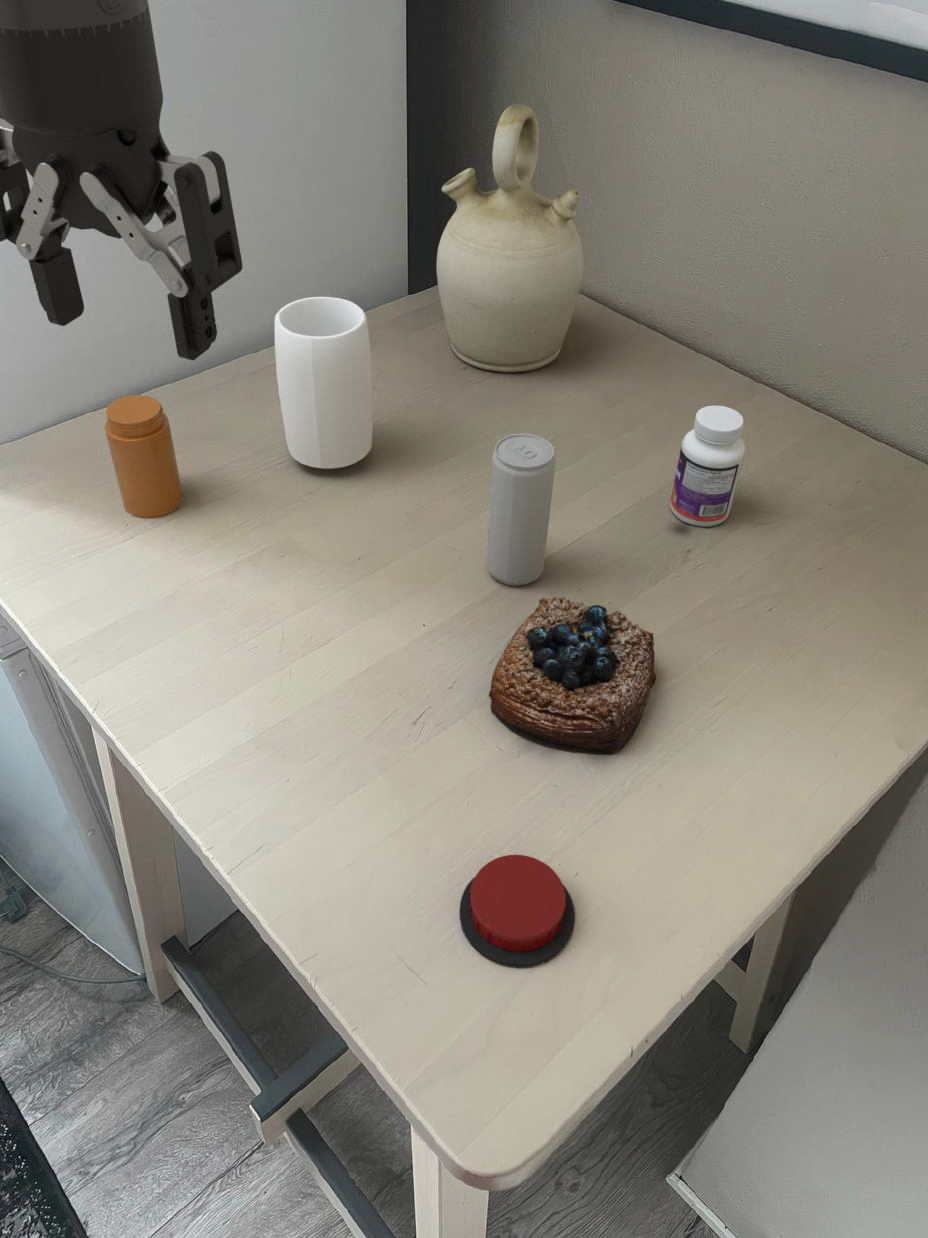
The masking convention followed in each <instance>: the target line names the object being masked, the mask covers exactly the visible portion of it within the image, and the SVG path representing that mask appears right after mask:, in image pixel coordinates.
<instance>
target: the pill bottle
mask: <svg viewBox="0 0 928 1238" xmlns="http://www.w3.org/2000/svg"><path fill="white" fill-rule="evenodd" d="M744 421H745V420H744V417H743V415H742V414H741V413H740V412H738V411H737V410H736V409H733V408H731V407H728V406H724V405H707V406H703V407H702V408H700V409H699V410H697V412H696V414H695V418H694V423H693V429H691V430H689V431H688V432H687V433H686V434H685V435H684V437H683V439H682V442H681V446H680V450H679V456H678V461H677V465H676V471H675V476H674V480H673V486H672V490H671V496H670V503H669V504H670V509H671V512H672V513H673V514H674V516H675V517H676V518H677V519H679V520H680V521H682V522H684V523H686V524H689V525H691V526H696V527H702V528H703V527H705V528H707V527H715V526H717V525H720V524H722V523H724V522H725V521H726V520H727V519H728V517H729V515H730V512H731V509H732V506H733V501H734V498H735V493H736V489H737V486H738V482H739V477H740V474H741V470H742V467H743V462H744V459H745V458H744V457H745V453H746V447H745V443H744V441H743V439H742V438H741V436H742V433H743V428H744Z"/></svg>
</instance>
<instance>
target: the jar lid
mask: <svg viewBox="0 0 928 1238" xmlns="http://www.w3.org/2000/svg"><path fill="white" fill-rule="evenodd" d="M474 877H475V878H474ZM474 877H473V878H474V880H473V883H472V887H471V891H470V893H469V902H470V914H469V916H470V917H471V918H472V921H473V924H474V926H475V930H476V931H478V932H479V933H480V935H481V936H482V937H483V938H484V939H486V940H487V942H489V943H491V944H493V945H494V946H496V947H499V948H501V949H502V950H508V951H517V952H519V953H520V952H522V951H529V950H533V949H535V950H537V948H539V947H541V946H543V945H544V944H546V943H547V942H551V939H552V938H553V937H554V936H555V935H556V933H557V932H558V930H560V929H561V923H562V919H563V916H564V915H565V910H566V905H565V901H566V900H565V890H564V887H563V885H564V884H563V882H562V880H561V879H560V877H559V875H558V874H557V873H556V871H555V870H554V869H553V868H552V867H550V866H549V865H547V863H545V862H543V861H542V860H540V859H538V858H535V857H533V856H529V855H525V854H524V855H523V854H508V855H502V856H499V857H496V858H494V859H492V860H490V861H489V862H487V863H486V864H484V865H483V866H482V867H481V868H480V869H479V871H478V872H477V873H476V874H475V876H474Z"/></svg>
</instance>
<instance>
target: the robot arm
mask: <svg viewBox="0 0 928 1238" xmlns="http://www.w3.org/2000/svg"><path fill="white" fill-rule="evenodd" d="M161 81H162V80H161V75H160V69H159V62H158V55H157V48H156V43H155V36H154V31H153V25H152V18H151V12H150V5H149V0H0V242H4V241H6V240H7V241H8V242H10V243H12V244H13V245H15V246H16V250H17V251H18V253H19V254H20V255H21V256H22V257H23V258H24V259H26V260H28V263H29V267H30V271H31V275H32V278H33V283H34V285H35V289H36V292H37V297H38V301H39V303H40V306H41V307H42V309H43V311H44V312H46V317H47V320H48V322H49V323H50V324H54V325H58V326H62V327H64V326H67V325H69V324H70V323H72V322H73V321H75V320H76V319H78V318H79V317H81V316H82V315H83V313H84V311H85V303H84V299H83V295H82V291H81V287H80V282H79V278H78V274H77V269H76V266H75V260H74V258H73V252H72V249H71V248H69V247H66V246H63V245H62V244H63V243H64V242H65V241H66V239H67V237H68V234H69V233H70V230H71V228H72V229H77V230H81V231H83V230H95V231H98V232H99V233H100V234H103V235H106V236H107V237H111V238H115V239H118V240H121V239H123V241H124V242H125V244H126V245H127V246H128V248H129V249H130V250H131V252H132V253H133V255H134V256H135V257H136V258H137V259H138V260H140V261H144V262H147V263H149V264H150V266H151V267H152V268H153V270H154V271H155V273H156V274H157V275H158V277H159V278H160V280H161V281H162V282H163V284H164V285H165V286H166V288H167V289H168V291H170V292H169V293H168V294H167V295H166V297H167V302H168V307H169V313H170V319H171V324H172V330H173V336H174V341H175V347H176V352H177V356H178V357H179V358H182V359H186V360H189V361H195V360H197V358H199V357H200V356H202V355H203V354H204V353H206V352H207V351H208V350H209V349H210V348H211V347H212V344H213V343H214V342H216V340H217V336H218V328H217V322H216V316H215V315H216V314H215V308H214V302H213V295H212V293H213V292H214V291H216V290H217V289H219V288H220V287H221V286H223V285H224V284H226V283H227V282H229V281H230V280H232V279H233V278H234V277H235V276H237V275H238V274H240V273H241V272H242V270H243V259H242V254H241V248H240V242H239V236H238V231H237V226H236V219H235V213H234V208H233V207H234V206H233V202H232V196H231V191H230V185H229V180H228V172H227V168H226V163H225V160H224V159H223V156H221V155H220V153H218V152H217V151H213V150H209V151H207V152H204V153H203V154H201V155H199V156H198V157H189V156H188V157H187V156H181V155H174V154H171V152H170V150H169V148H168V146H167V144H166V142H165V140H164V138H163V136H162V133H161V129H160V128H161V127H160V120H161V114H162V109H163V103H164V93H163V87H162V82H161ZM28 173H29V175H30V176H31V177H32V181H33V184H32V187H31V188H30V182H29V177H28ZM168 187H170V188H171V190H172V192H173V193H171V191H170V189H169V188H168ZM5 194H7V198H8V203H9V207H10V208H9V209H6V203H5V199H4V197H5ZM155 214H156V216H157V217H158V219H159V220H160V222H161V224H162V228H160V229H159V230H156V231H151V230H149V229H148V228H146V226H147V225H149V223H150V222H151V221H152V219H153V218H154V216H155ZM170 248H171V249H173V251H174V252H175V253H176V255H177V256H178V258H179V259H180V260H181V262H182V263H183V265H181V264H180V263H179V261H178V260H177V259H176V257H175V256H174V255H173V253H172V251H171V250H170Z"/></svg>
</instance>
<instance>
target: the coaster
mask: <svg viewBox="0 0 928 1238" xmlns="http://www.w3.org/2000/svg"><path fill="white" fill-rule="evenodd" d="M474 878H475V876H474V877H473V878H472V879H471V880H470V881H469V882H468V883H467V885H466V887H465V889H464V891H463V893H462V895H461V898H460V903H459V921H460V927H461V929H462V932H463V934H464V936H465V938H466V940H467V942H468V943H469V944H470V945H471V946H472V947H473V949H474V950H475V951H476V952H478V954H480V955H481V956H482V957H484V958H485V959H487V960H489V961H491V962H492V963H495V964H498V965H499V966H500V965H501V966H504V967H509V968H518V969H520V968H521V969H522V968H523V969H524V968H530V967H531V968H532V967H536V966H539V965H542V964H545V963H547V962H549V961H550V960H552V959H554V958H555V957H556V956H557V955H559V954H560V953H561V952H562V951H563V950H564V949H565V947H566V946H567V945H568V944H569V941H570V939H571V937H572V936H573V931H574V927H575V921H576V913H575V906H574V901H573V899H572V896H571V895H570V893H569V891H568V890H567V888H566V887H565V885H564V884H563V887H564V890H565V900H566V901H565V905H566V910H565V915H564V916H563V919H562V923H561V929H560V930H558V932H557V933H556V935H555V936H554V937H553V938H552V939H551V942H547V943H546V944H544V945H543V946H541V947H539V948H537V950H535V949H533V950H529V951H522V952H520V953H519V952H517V951H508V950H502V949H501V948H499V947H496V946H494V945H493V944H491V943H489V942H487V940H486V939H484V938H483V937H482V936H481V935H480V933H479V932H478V931H476V930H475V926H474V924H473V921H472V918H471V917H470V916H469V914H470V902H469V893H470V891H471V887H472V883H473V880H474Z"/></svg>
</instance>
